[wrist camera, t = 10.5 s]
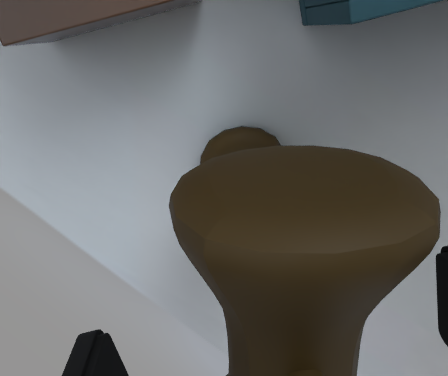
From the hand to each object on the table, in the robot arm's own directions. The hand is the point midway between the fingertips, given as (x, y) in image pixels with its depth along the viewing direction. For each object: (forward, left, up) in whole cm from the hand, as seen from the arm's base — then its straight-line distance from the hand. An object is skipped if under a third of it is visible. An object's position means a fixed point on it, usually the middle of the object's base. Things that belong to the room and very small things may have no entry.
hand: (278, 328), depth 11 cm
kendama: (0, 0, -13) cm, 13 cm away
